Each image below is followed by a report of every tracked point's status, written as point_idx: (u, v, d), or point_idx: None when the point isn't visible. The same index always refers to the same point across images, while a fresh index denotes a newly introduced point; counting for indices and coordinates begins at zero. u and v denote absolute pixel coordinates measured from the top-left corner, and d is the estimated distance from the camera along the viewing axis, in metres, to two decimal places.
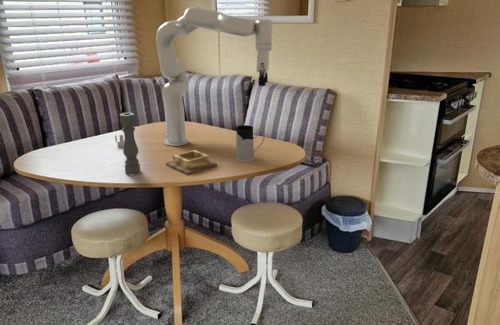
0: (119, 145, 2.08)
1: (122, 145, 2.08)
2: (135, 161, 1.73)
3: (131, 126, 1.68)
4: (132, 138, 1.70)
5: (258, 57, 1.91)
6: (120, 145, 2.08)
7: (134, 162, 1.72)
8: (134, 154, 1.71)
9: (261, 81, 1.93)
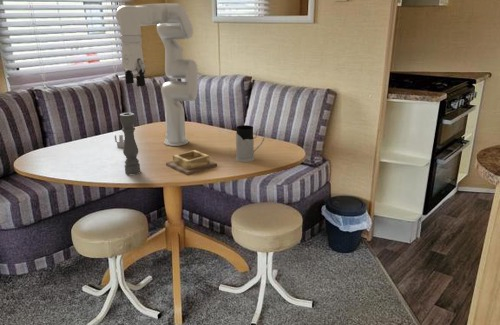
0: (119, 145, 2.08)
1: (122, 145, 2.08)
2: (135, 161, 1.73)
3: (131, 126, 1.68)
4: (132, 138, 1.70)
5: (133, 52, 1.57)
6: (119, 145, 2.08)
7: (134, 162, 1.72)
8: (134, 154, 1.71)
9: (141, 80, 1.61)
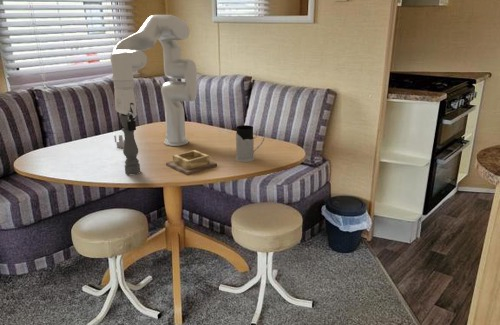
0: (118, 145, 2.08)
1: (121, 145, 2.08)
2: (135, 161, 1.73)
3: None
4: (132, 138, 1.70)
5: (126, 97, 1.60)
6: (119, 145, 2.08)
7: (134, 162, 1.72)
8: (134, 154, 1.71)
9: (132, 125, 1.66)
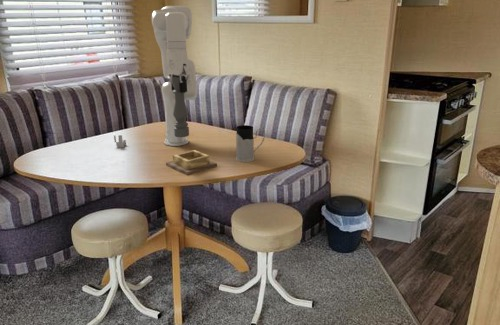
0: (118, 145, 2.08)
1: (121, 145, 2.08)
2: (185, 124, 1.74)
3: None
4: (183, 100, 1.71)
5: (179, 57, 1.62)
6: (119, 145, 2.08)
7: (184, 124, 1.74)
8: (184, 116, 1.73)
9: (184, 87, 1.67)
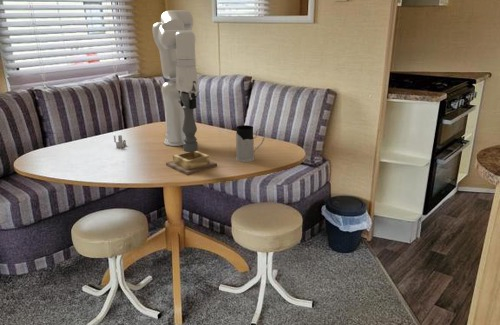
0: (118, 145, 2.08)
1: (121, 145, 2.08)
2: (194, 139, 1.78)
3: None
4: (192, 116, 1.75)
5: (189, 75, 1.65)
6: (119, 145, 2.08)
7: (193, 140, 1.77)
8: (193, 132, 1.76)
9: (193, 103, 1.71)
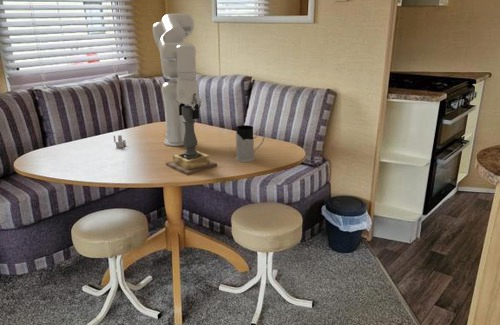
0: (118, 145, 2.08)
1: (121, 145, 2.08)
2: (194, 152, 1.80)
3: None
4: (192, 130, 1.77)
5: (190, 88, 1.67)
6: (118, 145, 2.08)
7: (193, 153, 1.79)
8: (194, 145, 1.78)
9: (196, 114, 1.71)
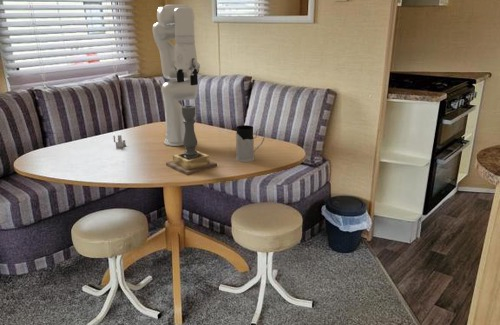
0: (117, 145, 2.08)
1: (120, 145, 2.08)
2: (194, 152, 1.80)
3: (192, 118, 1.75)
4: (192, 130, 1.77)
5: (188, 52, 1.62)
6: (118, 145, 2.08)
7: (193, 153, 1.79)
8: (194, 145, 1.78)
9: (194, 79, 1.66)
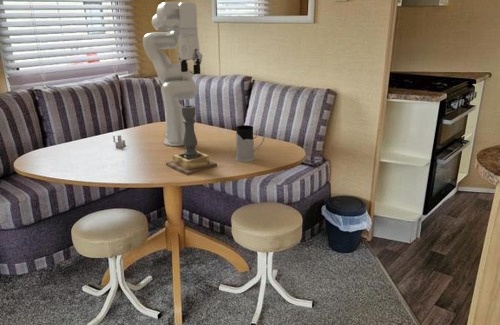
0: (117, 145, 2.08)
1: (120, 145, 2.08)
2: (194, 152, 1.80)
3: (192, 118, 1.75)
4: (192, 130, 1.77)
5: (192, 43, 1.76)
6: (118, 145, 2.08)
7: (193, 153, 1.79)
8: (194, 145, 1.78)
9: (197, 69, 1.80)
